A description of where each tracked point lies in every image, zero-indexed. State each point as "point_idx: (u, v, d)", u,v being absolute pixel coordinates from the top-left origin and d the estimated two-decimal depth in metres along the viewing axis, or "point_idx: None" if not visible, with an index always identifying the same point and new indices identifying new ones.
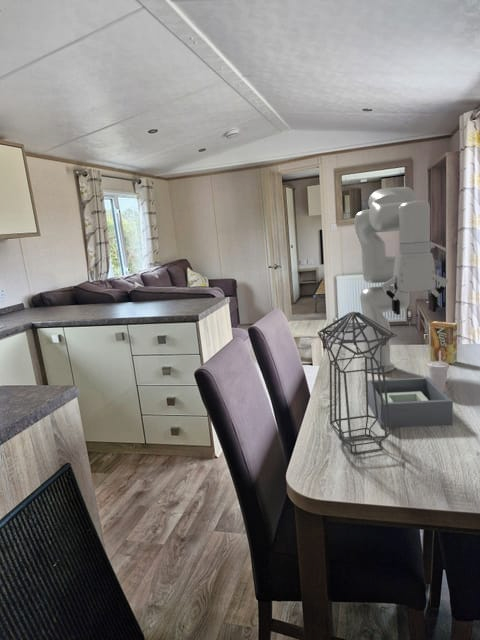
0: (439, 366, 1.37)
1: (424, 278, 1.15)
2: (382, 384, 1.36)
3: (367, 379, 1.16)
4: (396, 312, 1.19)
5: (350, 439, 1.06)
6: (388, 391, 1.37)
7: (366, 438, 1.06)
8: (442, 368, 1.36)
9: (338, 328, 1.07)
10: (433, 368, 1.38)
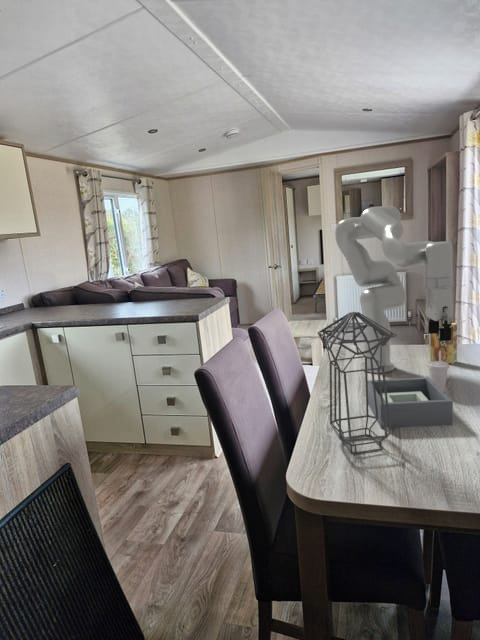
0: (439, 366, 1.37)
1: None
2: (382, 384, 1.36)
3: (367, 379, 1.16)
4: (448, 338, 1.32)
5: (350, 439, 1.06)
6: (388, 391, 1.37)
7: (366, 438, 1.06)
8: (442, 368, 1.36)
9: (338, 328, 1.07)
10: (433, 368, 1.38)
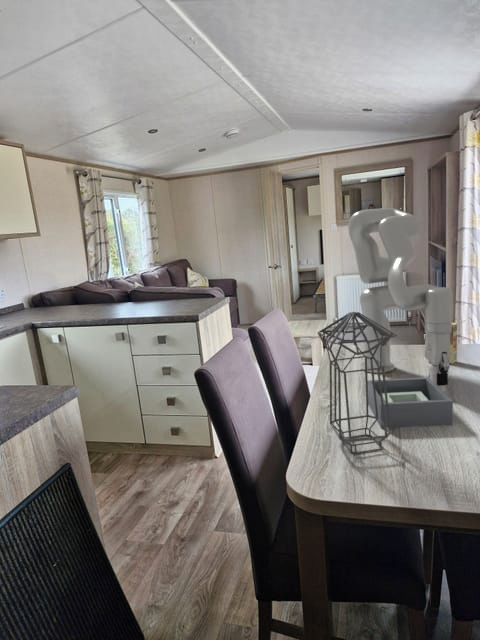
0: None
1: None
2: (382, 384, 1.36)
3: (367, 379, 1.16)
4: (445, 383, 1.37)
5: (350, 439, 1.06)
6: (388, 391, 1.37)
7: (366, 438, 1.06)
8: None
9: (338, 328, 1.07)
10: (433, 368, 1.38)
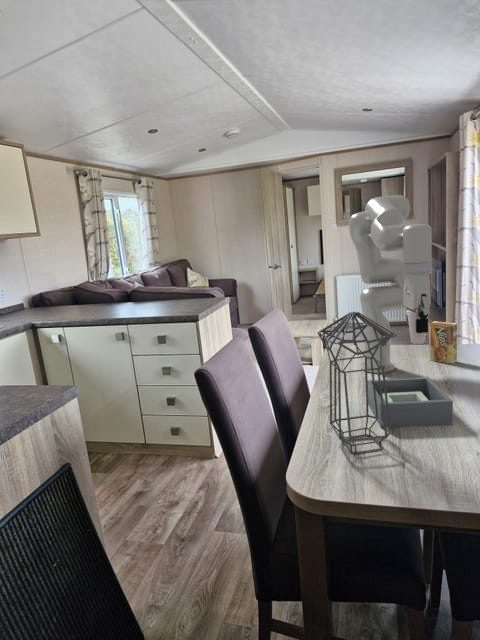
0: None
1: None
2: (382, 384, 1.36)
3: (367, 379, 1.16)
4: (425, 330, 1.24)
5: (350, 439, 1.06)
6: (388, 391, 1.37)
7: (366, 438, 1.06)
8: None
9: (338, 328, 1.07)
10: (412, 314, 1.25)
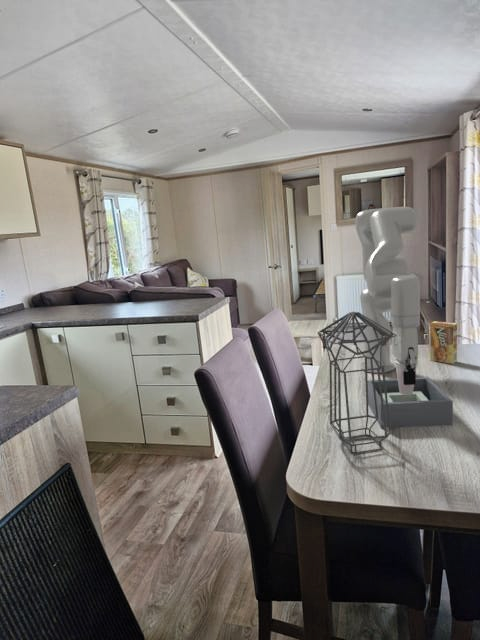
0: (407, 363, 1.24)
1: None
2: (382, 384, 1.36)
3: (367, 379, 1.16)
4: (412, 382, 1.23)
5: (350, 439, 1.06)
6: (388, 391, 1.37)
7: (366, 438, 1.06)
8: None
9: (338, 328, 1.07)
10: (400, 366, 1.24)
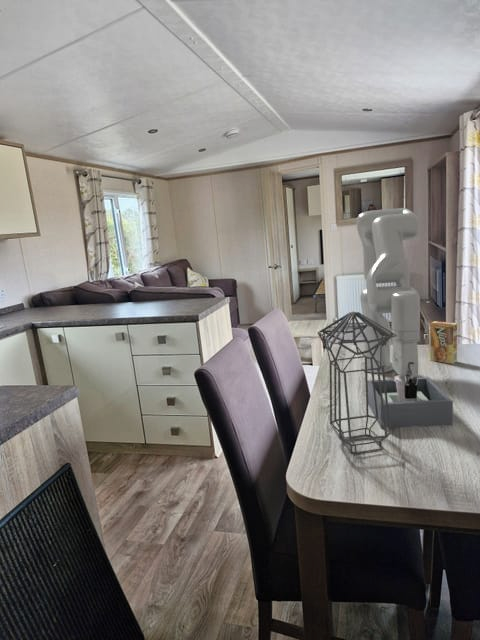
0: None
1: None
2: (382, 384, 1.36)
3: (367, 379, 1.16)
4: (413, 396, 1.23)
5: (350, 439, 1.06)
6: (388, 391, 1.37)
7: (366, 438, 1.06)
8: None
9: (338, 328, 1.07)
10: (400, 382, 1.25)
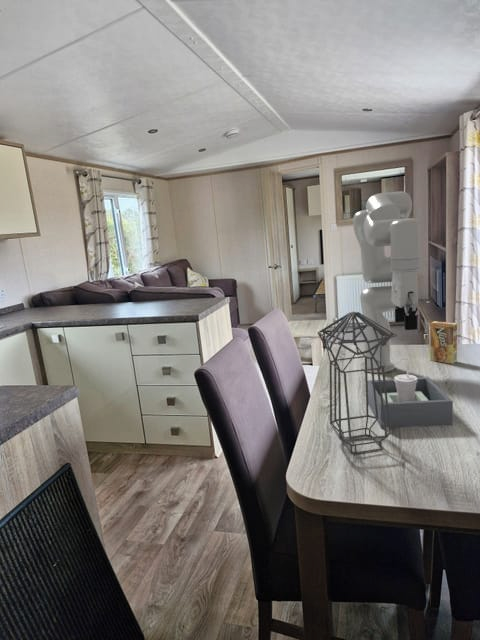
0: (406, 381, 1.25)
1: None
2: (382, 384, 1.36)
3: (367, 379, 1.16)
4: (414, 327, 1.19)
5: (350, 439, 1.06)
6: (388, 391, 1.37)
7: (366, 438, 1.06)
8: (409, 383, 1.24)
9: (338, 328, 1.07)
10: (400, 383, 1.25)
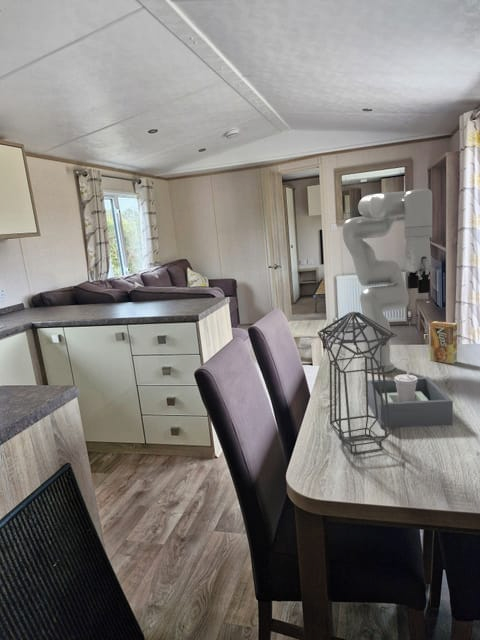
0: (406, 380, 1.25)
1: None
2: (382, 384, 1.36)
3: (367, 379, 1.16)
4: (426, 291, 1.27)
5: (350, 439, 1.06)
6: (388, 391, 1.37)
7: (366, 438, 1.06)
8: (409, 383, 1.24)
9: (338, 328, 1.07)
10: (400, 383, 1.25)
